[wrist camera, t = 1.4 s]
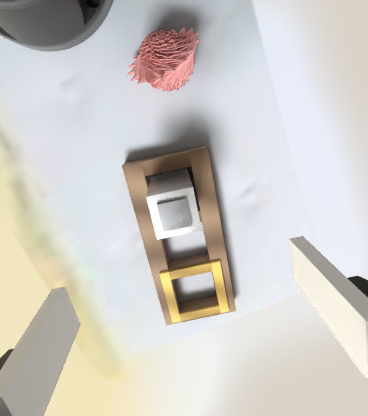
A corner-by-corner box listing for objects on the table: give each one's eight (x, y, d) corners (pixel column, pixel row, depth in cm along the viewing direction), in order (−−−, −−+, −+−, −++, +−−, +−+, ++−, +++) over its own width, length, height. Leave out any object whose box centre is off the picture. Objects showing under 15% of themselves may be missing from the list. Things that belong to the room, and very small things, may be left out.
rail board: (124, 163, 34) (121, 166, 32) (205, 145, 34) (208, 148, 32) (166, 315, 42) (166, 327, 40) (233, 301, 42) (236, 312, 39)
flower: (209, 99, 27) (185, 45, 23) (139, 119, 30) (107, 75, 26) (214, 49, 31) (195, -5, 27) (151, 71, 34) (125, 27, 30)
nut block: (151, 176, 35) (145, 198, 26) (186, 168, 35) (193, 188, 26) (159, 209, 37) (156, 241, 28) (193, 202, 37) (202, 231, 28)
